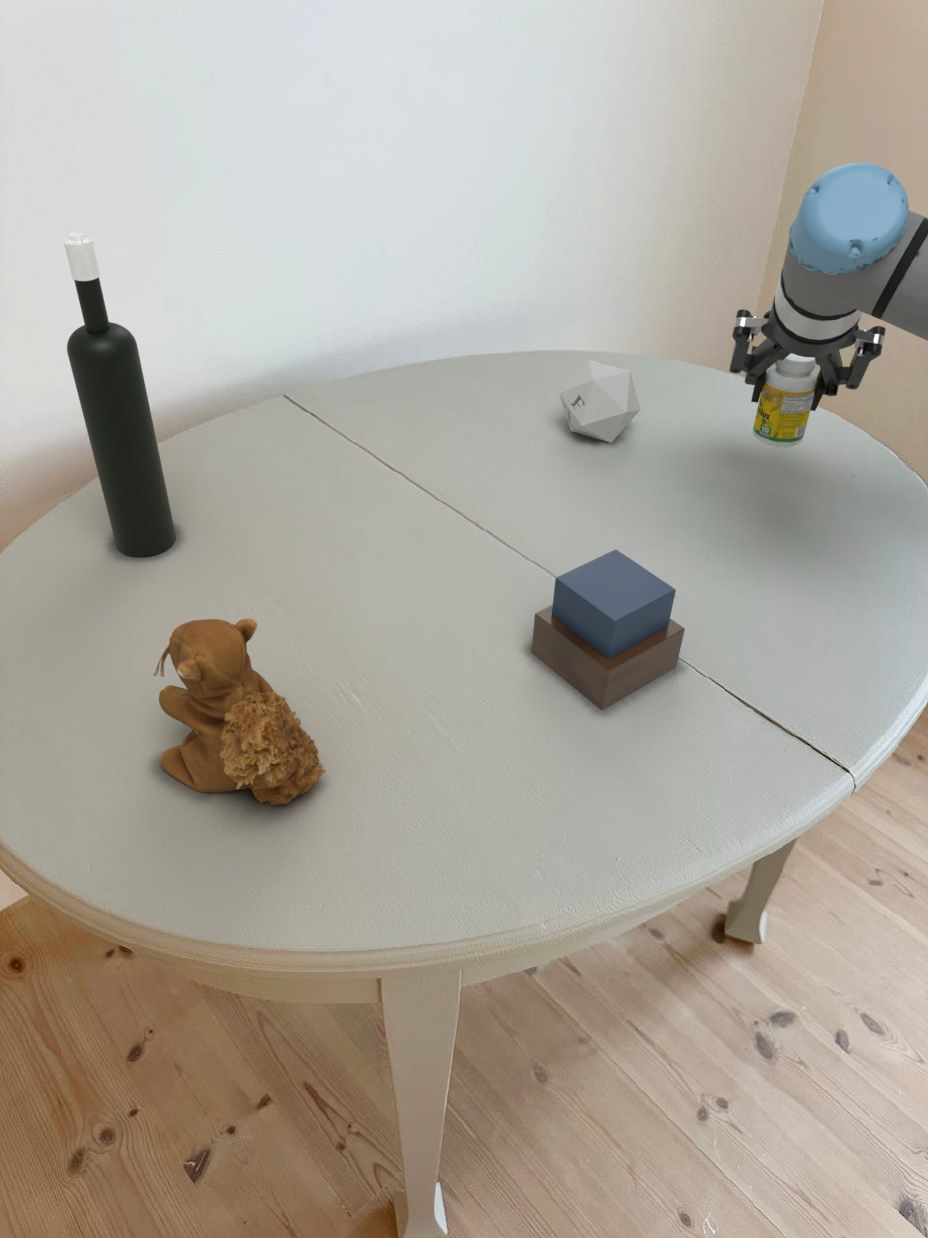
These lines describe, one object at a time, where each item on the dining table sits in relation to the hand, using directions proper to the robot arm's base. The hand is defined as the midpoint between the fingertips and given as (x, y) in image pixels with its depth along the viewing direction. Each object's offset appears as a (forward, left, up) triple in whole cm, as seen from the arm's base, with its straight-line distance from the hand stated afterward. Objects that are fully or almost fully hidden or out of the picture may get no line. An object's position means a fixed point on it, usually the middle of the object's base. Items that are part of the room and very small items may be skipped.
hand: (785, 394), depth 105 cm
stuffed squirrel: (-30, +63, -9) cm, 70 cm away
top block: (-26, +32, -4) cm, 42 cm away
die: (+12, +16, -9) cm, 22 cm away
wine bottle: (+3, +69, -9) cm, 70 cm away
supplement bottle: (-3, +2, -4) cm, 5 cm away
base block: (-26, +32, -9) cm, 42 cm away
